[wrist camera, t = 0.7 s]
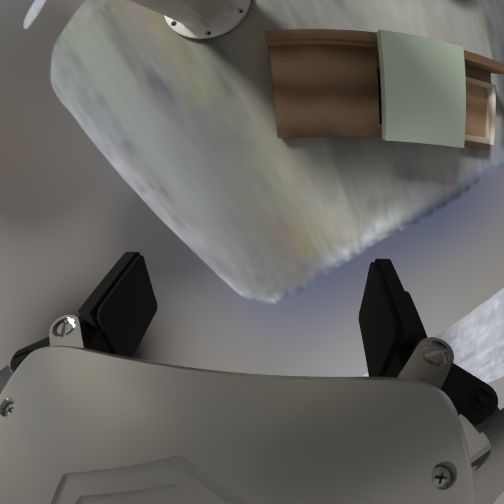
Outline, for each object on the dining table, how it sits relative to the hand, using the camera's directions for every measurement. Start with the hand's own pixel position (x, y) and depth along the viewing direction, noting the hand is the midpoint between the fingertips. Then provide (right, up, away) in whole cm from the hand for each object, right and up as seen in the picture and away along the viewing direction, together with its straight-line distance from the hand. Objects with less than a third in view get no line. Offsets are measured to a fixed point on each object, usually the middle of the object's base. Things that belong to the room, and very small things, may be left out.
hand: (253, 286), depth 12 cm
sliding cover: (+20, +20, +14) cm, 31 cm away
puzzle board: (+20, +23, +22) cm, 38 cm away
